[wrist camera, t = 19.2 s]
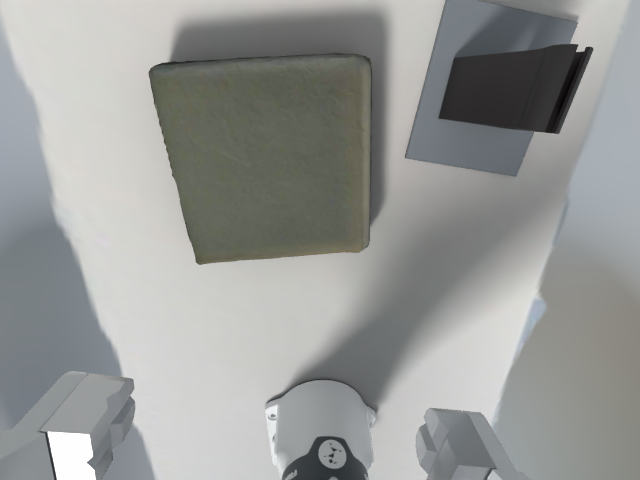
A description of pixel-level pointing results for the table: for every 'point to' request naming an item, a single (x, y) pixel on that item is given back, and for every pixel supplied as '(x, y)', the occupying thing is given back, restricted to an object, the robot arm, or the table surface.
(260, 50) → the table surface
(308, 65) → the network switch
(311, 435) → the robot arm
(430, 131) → the rubber mat
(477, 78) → the black slotted holder
